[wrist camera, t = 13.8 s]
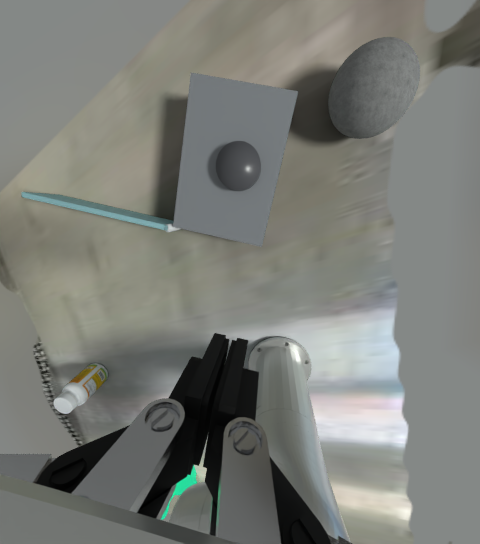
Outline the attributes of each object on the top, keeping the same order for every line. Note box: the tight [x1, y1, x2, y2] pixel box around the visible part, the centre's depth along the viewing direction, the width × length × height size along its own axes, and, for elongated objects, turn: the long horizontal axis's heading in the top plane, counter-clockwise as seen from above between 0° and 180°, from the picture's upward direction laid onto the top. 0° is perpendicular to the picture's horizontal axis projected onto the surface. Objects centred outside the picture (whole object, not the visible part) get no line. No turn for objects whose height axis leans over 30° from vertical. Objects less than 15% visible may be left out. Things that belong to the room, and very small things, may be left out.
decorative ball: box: [328, 37, 420, 139], centre depth 29 cm, size 10×10×10 cm
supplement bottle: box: [54, 363, 108, 414], centre depth 49 cm, size 5×5×10 cm
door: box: [22, 192, 181, 232], centre depth 39 cm, size 26×1×7 cm, turn 78°
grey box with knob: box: [173, 73, 298, 247], centre depth 34 cm, size 20×14×9 cm
